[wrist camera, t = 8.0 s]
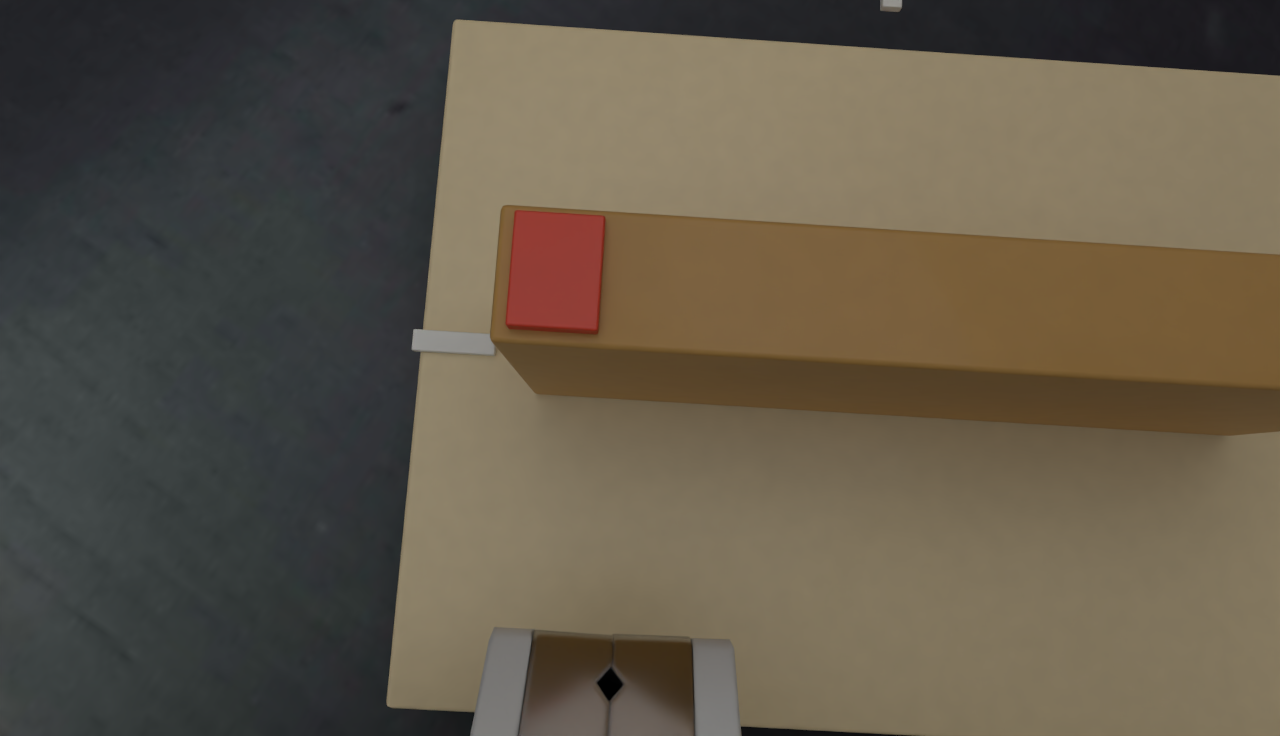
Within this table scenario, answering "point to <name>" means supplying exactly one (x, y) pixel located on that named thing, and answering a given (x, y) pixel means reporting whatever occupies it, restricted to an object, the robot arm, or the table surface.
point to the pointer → (888, 321)
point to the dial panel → (833, 441)
